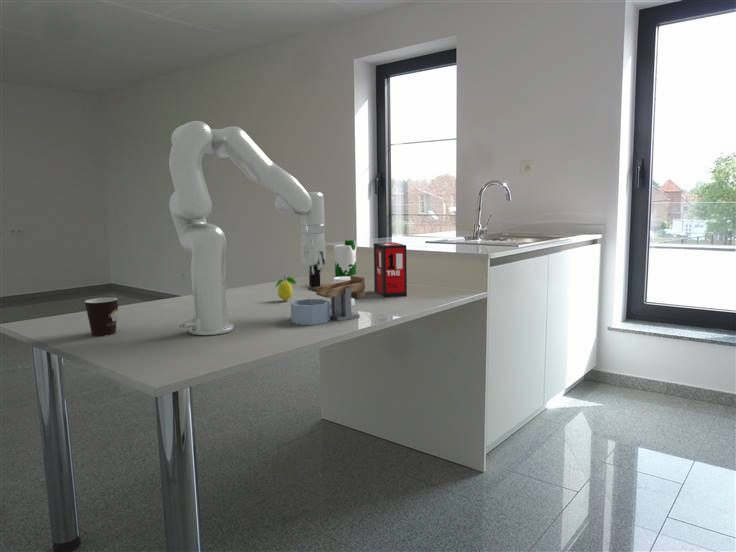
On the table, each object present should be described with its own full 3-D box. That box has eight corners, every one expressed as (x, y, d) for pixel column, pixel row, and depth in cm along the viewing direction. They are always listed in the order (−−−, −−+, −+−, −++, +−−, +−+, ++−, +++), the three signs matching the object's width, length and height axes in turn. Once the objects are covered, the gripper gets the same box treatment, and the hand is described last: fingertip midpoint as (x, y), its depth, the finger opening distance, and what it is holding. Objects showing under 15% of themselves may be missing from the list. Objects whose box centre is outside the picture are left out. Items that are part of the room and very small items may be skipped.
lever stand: (337, 320, 176) (337, 289, 175) (323, 315, 185) (322, 285, 183) (359, 317, 180) (359, 287, 179) (344, 312, 189) (343, 283, 187)
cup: (302, 326, 169) (301, 307, 168) (287, 320, 179) (286, 301, 178) (335, 321, 175) (334, 302, 174) (318, 315, 185) (318, 297, 184)
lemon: (297, 301, 212) (296, 275, 211) (282, 303, 209) (281, 276, 207) (289, 298, 217) (288, 273, 216) (275, 300, 214) (274, 274, 213)
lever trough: (328, 307, 175) (325, 286, 174) (309, 300, 187) (306, 281, 186) (366, 297, 182) (364, 277, 181) (345, 292, 194) (343, 273, 193)
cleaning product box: (374, 291, 233) (373, 243, 230) (395, 289, 235) (394, 242, 232) (384, 297, 217) (384, 246, 214) (406, 296, 219) (406, 245, 216)
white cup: (353, 307, 198) (352, 279, 197) (331, 307, 200) (331, 279, 198) (358, 303, 206) (357, 276, 204) (337, 302, 207) (336, 276, 206)
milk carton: (350, 287, 245) (349, 241, 242) (332, 286, 248) (331, 241, 246) (359, 284, 253) (358, 239, 250) (341, 283, 256) (340, 239, 254)
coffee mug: (99, 338, 158) (96, 303, 157) (81, 335, 163) (78, 301, 162) (135, 330, 168) (132, 297, 167) (117, 327, 173) (115, 295, 171)
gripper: (293, 230, 187) (295, 284, 189) (312, 231, 174) (314, 290, 176) (313, 229, 190) (315, 282, 193) (334, 230, 178) (335, 287, 180)
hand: (315, 285), depth 185 cm, fingers closed
